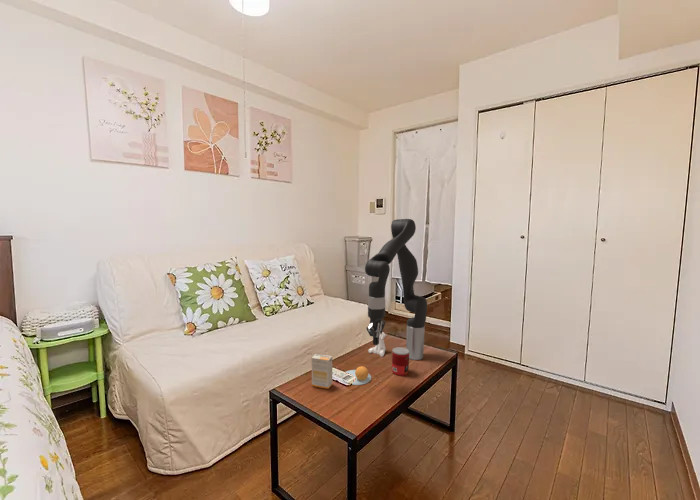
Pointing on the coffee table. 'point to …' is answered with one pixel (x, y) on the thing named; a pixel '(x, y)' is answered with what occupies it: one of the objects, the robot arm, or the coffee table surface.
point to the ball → (361, 373)
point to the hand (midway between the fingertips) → (375, 344)
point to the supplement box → (322, 371)
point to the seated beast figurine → (379, 346)
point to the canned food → (400, 361)
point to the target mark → (357, 381)
